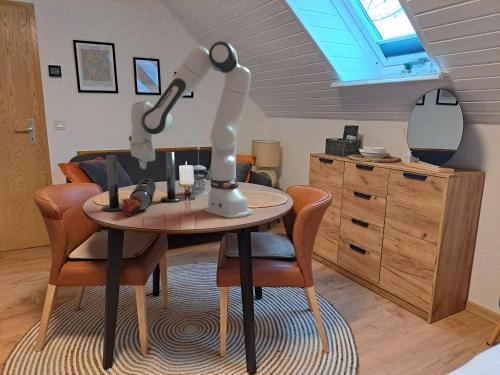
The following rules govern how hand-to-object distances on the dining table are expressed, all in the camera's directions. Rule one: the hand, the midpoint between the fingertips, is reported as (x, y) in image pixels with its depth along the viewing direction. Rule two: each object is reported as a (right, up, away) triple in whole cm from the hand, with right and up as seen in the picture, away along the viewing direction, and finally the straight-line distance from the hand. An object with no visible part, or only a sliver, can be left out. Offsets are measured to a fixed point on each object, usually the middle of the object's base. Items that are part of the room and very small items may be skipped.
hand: (143, 168), depth 166 cm
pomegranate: (-1, -21, -13) cm, 25 cm away
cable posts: (-1, -17, +5) cm, 17 cm away
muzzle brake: (-1, -17, +5) cm, 18 cm away
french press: (+22, -12, +30) cm, 39 cm away
